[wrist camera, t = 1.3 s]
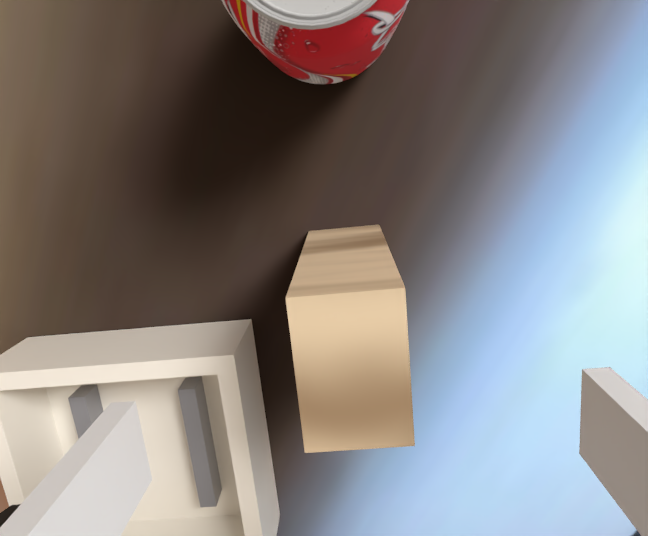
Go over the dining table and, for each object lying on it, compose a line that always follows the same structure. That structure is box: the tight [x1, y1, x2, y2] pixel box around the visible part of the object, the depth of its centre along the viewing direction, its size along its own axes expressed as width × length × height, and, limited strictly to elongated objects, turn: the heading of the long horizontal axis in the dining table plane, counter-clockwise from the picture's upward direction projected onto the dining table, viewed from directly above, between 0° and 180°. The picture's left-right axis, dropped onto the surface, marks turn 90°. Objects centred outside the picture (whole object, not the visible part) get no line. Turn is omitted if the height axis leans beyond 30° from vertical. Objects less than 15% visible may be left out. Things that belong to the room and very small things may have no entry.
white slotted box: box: [0, 319, 280, 536], centre depth 29 cm, size 14×14×5 cm
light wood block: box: [286, 225, 415, 453], centre depth 23 cm, size 6×4×12 cm, turn 6°
